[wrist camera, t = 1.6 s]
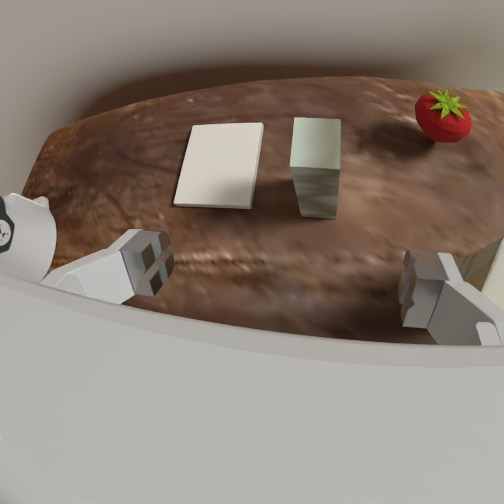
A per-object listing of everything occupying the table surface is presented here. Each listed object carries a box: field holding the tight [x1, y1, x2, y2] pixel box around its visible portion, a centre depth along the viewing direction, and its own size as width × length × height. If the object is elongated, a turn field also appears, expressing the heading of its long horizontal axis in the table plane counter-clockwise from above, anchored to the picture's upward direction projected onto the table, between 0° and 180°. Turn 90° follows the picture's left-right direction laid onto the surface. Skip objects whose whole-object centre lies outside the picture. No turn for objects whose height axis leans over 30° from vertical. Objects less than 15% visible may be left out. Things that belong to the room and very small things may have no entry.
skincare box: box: [455, 237, 504, 311], centre depth 24 cm, size 6×4×12 cm
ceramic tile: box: [174, 123, 264, 209], centre depth 39 cm, size 10×12×1 cm
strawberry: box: [415, 89, 472, 143], centre depth 29 cm, size 6×8×10 cm
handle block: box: [290, 118, 340, 219], centre depth 30 cm, size 4×5×12 cm
